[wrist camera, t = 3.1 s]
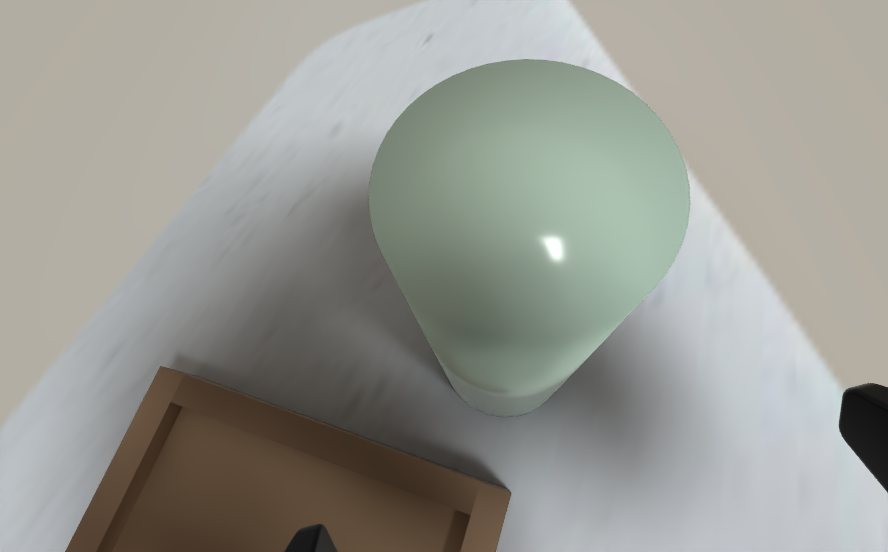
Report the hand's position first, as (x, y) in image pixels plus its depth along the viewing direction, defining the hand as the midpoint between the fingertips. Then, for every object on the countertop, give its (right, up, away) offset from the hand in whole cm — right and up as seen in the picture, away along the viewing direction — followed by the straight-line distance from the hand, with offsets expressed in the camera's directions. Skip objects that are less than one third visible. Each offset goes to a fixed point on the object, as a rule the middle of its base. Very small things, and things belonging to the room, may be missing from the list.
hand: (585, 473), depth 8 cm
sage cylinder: (0, 0, +11) cm, 10 cm away
